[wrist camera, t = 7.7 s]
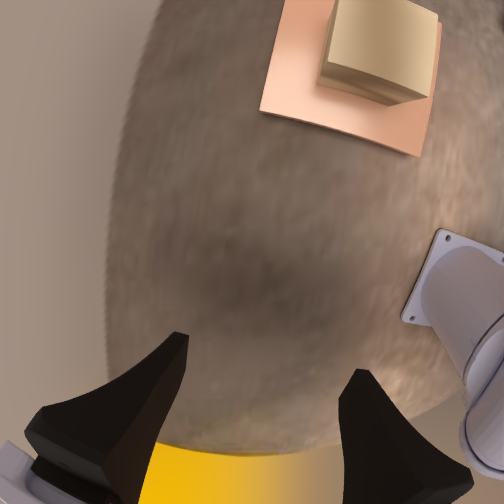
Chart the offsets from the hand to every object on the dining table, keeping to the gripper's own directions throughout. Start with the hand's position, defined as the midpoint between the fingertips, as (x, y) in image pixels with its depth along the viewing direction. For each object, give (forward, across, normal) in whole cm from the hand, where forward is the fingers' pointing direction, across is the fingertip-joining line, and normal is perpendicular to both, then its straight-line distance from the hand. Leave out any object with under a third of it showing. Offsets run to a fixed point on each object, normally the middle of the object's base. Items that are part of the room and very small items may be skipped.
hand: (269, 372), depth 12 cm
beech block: (+8, -2, -15) cm, 17 cm away
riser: (+10, -2, -15) cm, 18 cm away
